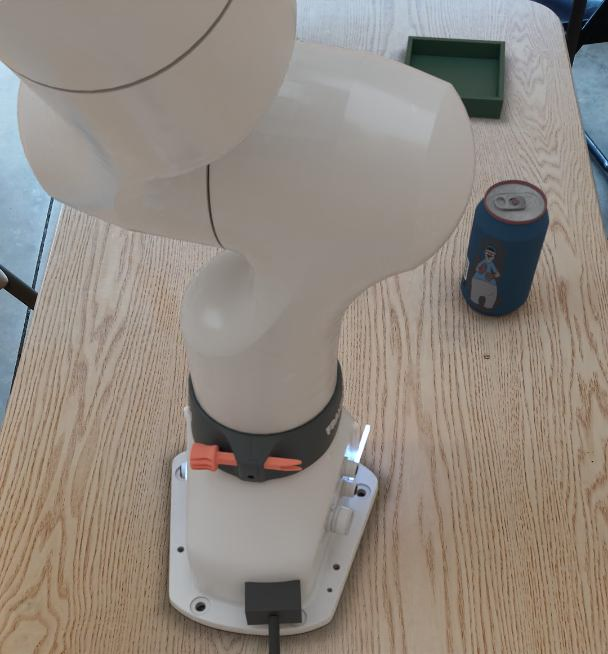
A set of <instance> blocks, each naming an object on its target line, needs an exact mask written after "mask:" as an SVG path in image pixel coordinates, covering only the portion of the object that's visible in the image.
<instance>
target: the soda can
mask: <svg viewBox="0 0 608 654" xmlns="http://www.w3.org/2000/svg"><path fill="white" fill-rule="evenodd" d="M472 218H473V219H472V224H471V230H470V235H469V239H468V245H467V250H466V255H465V260H464V266H463V271H462V274H461V281H460V291H461V294H462V297H463V299H464V300H465V302H466V304H467V306H468V307H469V308H470V309H471V310H472V311H473V312H474V313H476V314H478V315H480V316H483V317H486V318H493V319H494V318H495V319H496V318H497V319H498V318H503V317H506V316H509V315H511V314H513V313H514V312H516V311H517V310H518V309H520V308H521V307H522V306H524V304H525V303H526V302H527V300H528V298H529V295H530V292H531V288H532V286H533V285H532V284H533V281H534V278H535V274H536V271H537V267H538V264H539V260H540V257H541V253H542V250H543V247H544V243H545V239H546V236H547V233H548V229H549V225H550V218H551V217H550V213H549V209H548V198H547V196H546V194H545V192H544V191H543V190H542V189H540V188H539V187H538V186H537V185H535V184H534V183H531V182H528V181H527V180H522V179H506V180H500V181H498V182H496V183H494V184H492V185H491V186H490V187H488V189H487V190H486V191H485V193H484V196H483V198H481V199H480V201H478V203H477V205H476V206H475V209H474V213H473V217H472Z"/></svg>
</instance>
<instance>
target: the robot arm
mask: <svg viewBox="0 0 608 654" xmlns="http://www.w3.org/2000/svg"><path fill="white" fill-rule="evenodd" d="M297 3H298V2H297V0H0V62H1V63H2V64H3V65H5V66H6V68H7V69H9V70H10V72H12V73H13V74H14V75H15V76H16V77H17V78H18V79H20V81H19V86H18V91H17V100H16V118H17V120H16V121H17V129H18V134H19V138H20V139H19V140H20V143H21V146H22V150H23V153H24V157H25V159H26V161H27V163H28V166H29V167H30V169H31V172H32V173H33V175H34V177H35V179H36V180H37V182H38V184H39V185H40V187H41V189H43V191H44V192H45V193H46V194H47V195H48V196H49V197H50V198H52V199H53V200H55V201H57V202H59V203H61V204H63V205H65V206H67V207H70V208H72V209H74V210H76V211H79V212H81V213H83V214H85V215H87V216H90V217H93V218H95V219H97V220H101V221H102V222H105V223H107V224H110V225H114V226H116V227H119V228H121V229H124V230H126V231H129V232H135V233H140V234H146V235H150V236H155V237H161V238H166V239H171V240H175V241H181V242H186V243H191V244H197V245H202V246H206V247H207V246H208V247H213V248H218V249H221V250H222V251H220V252H219V253H217V254H216V255H214V256H213V257H212V258H211V259H209V261H207V262H206V263H204V265H202V266H201V267H200V268H199V269H198V270H197V271H196V273H195V274H194V275H193V276H192V277H191V279H190V280H189V282H188V284H187V286H186V288H185V290H184V291H183V292H184V293H183V296H182V299H181V304H180V309H179V327H180V331H181V335H182V336H181V337H182V341H183V346H184V350H185V356H186V360H187V365H188V369H189V372H188V377H187V384H188V386H187V405H186V406H184V408H183V413H184V417H185V421H186V450H184V451H182V452H180V453H179V454H177V455H176V456H175V457H174V458H173V460H172V462H171V481H170V483H171V484H170V485H171V486H170V487H171V488H170V521H169V522H170V523H169V524H170V525H169V527H170V528H169V563H168V564H169V565H168V597H169V598H168V599H169V603H170V604H171V606H172V607H173V608H174V609H175V610H177V612H179V613H180V614H182V615H183V616H185V617H186V618H188V619H189V620H192V621H194V622H195V623H198V624H201V625H204V626H207V627H209V628H213V629H216V630H221V631H224V632H225V631H226V632H231V633H238V634H243V635H254V636H264V637H265V636H267V637H268V654H281V636H291V635H293V636H294V635H297V634H298V635H299V634H303V633H308V632H311V631H314V630H318V629H319V628H322V627H324V626H326V625H328V624H329V623H330V622H331V621H332V620H333V618H334V616H335V613H336V610H337V607H338V605H339V602H340V599H341V597H342V594H343V591H344V589H345V585H346V584H347V583H346V582H347V581H348V577H349V574H350V571H351V568H352V565H353V563H354V560H355V557H356V554H357V551H358V549H359V546H360V543H361V540H362V537H363V534H364V531H365V529H366V526H367V523H368V521H369V518H370V515H371V511H372V510H373V506H374V503H375V501H376V498H377V495H378V492H379V479H378V478H377V476H376V474H374V472H373V471H371V470H370V469H369V468H368V467H366V466H365V465H364V464H362V463H361V462H360V459H361V456H362V454H363V451H364V448H365V445H366V442H367V438H368V435H369V432H370V427H371V426H370V425H369V424H366V425H365V428H364V431H363V434H362V437H360V435H361V434H360V433H361V432H360V431H361V430H360V428H361V427H360V424H359V422H358V421H357V420H356V418H355V417H354V416H353V415H352V414H351V413H350V412H349V411H348V409H347V408H346V407H345V406H344V398H345V383H344V382H345V381H344V378H343V371H342V366H341V363H340V359H339V358H338V357H339V344H340V337H341V330H342V324H343V319H344V316H345V314H346V311H347V310H348V308H349V307H350V306H351V305H352V303H353V302H354V301H355V300H356V299H358V297H360V296H361V295H362V294H363V293H365V292H366V291H367V290H369V289H371V288H372V287H373V286H376V284H379V283H380V282H383V281H384V280H387V279H389V278H391V277H394V276H397V275H400V274H403V273H407V272H410V271H414V270H416V269H417V268H419V267H420V266H422V265H424V264H425V263H426V262H428V261H429V260H430V259H431V258H432V257H434V256H435V255H436V254H437V252H438V251H440V250H441V249H442V247H443V246H444V245H445V244H446V243H447V241H448V240H449V239H451V237H452V235H453V234H454V232H455V231H456V229H457V228H458V226H459V224H460V222H461V220H462V218H463V216H464V214H465V212H466V210H467V207H468V204H469V202H470V199H471V196H472V191H473V188H474V183H475V176H476V165H477V164H476V163H477V159H476V158H477V156H476V143H475V136H474V131H473V127H472V123H471V119H470V117H469V116H468V114H467V111H466V108H465V106H464V104H463V102H462V100H461V98H460V96H459V94H458V93H457V91H456V90H455V88H454V87H453V85H452V84H451V83H449V82H446V81H444V80H442V79H439V78H437V77H434V76H432V75H430V74H427V73H425V72H423V71H420V70H418V69H416V68H413V67H411V66H408V65H405V63H403V62H400V61H397V60H395V59H392V58H389V57H387V56H384V55H381V54H379V53H377V52H375V51H374V52H373V51H369V50H362V49H356V48H355V49H354V48H348V47H341V46H335V45H328V44H322V43H316V42H315V43H314V42H308V41H301V40H296V36H297V25H298V23H297V21H298V4H297ZM360 438H361V440H360ZM359 494H362V495H364V496H359ZM201 606H202V607H204V609H203V610H202V611H201V610H197V609H198V608H199V607H201Z"/></svg>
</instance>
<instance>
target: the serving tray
mask: <svg viewBox="0 0 608 654" xmlns="http://www.w3.org/2000/svg"><path fill="white" fill-rule="evenodd" d="M404 64H405V65H408V66H411V67H413V68H416V69H418V70H420V71H423V72H425V73H427V74H430V75H432V76H434V77H437V78H439V79H442V80H444V81H446V82H449V83H451V84H452V85H453V87H454V88H455V90H456V91H457V93H458V94H459V96H460V98H461V100H462V102H463V104H464V106H465V108H466V111H467V114H468V116H469V118H478V119H479V118H480V119H492V120H493V119H494V120H500V119H501V116H502V112H503V111H502V110H503V105H504V98H505V69H506V67H505V65H506V41H505V40H504V41H503V40H489V39H488V40H487V39H471V38H470V39H469V38H453V37H452V38H451V37H437V36H436V37H434V36H433V37H432V36H419V35H418V36H417V35H408V37H407V45H406V52H405V59H404Z"/></svg>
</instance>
